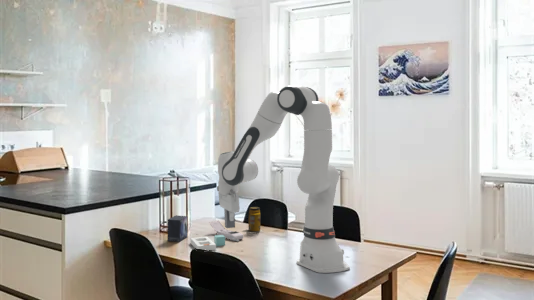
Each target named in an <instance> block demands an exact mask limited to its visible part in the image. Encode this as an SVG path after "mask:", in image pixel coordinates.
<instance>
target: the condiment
mask: <svg viewBox="0 0 534 300" xmlns="http://www.w3.org/2000/svg"><path fill="white" fill-rule="evenodd" d="M260 209H261V208H260V207H258V206H250V207H249V210H248V229H245V230H242V231H243V232H244V233H249V234H255V233H261V232H264V230H262V229H261V210H260Z"/></svg>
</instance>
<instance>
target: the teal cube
mask: <svg viewBox="0 0 534 300" xmlns="http://www.w3.org/2000/svg"><path fill="white" fill-rule="evenodd" d="M213 239H214V241H213V242H214V243H215V244H216V247H221V246H223V247H224V246H226V238H225V236H224V235H217V234H216V235H214V236H213Z"/></svg>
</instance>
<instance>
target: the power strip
mask: <svg viewBox="0 0 534 300" xmlns="http://www.w3.org/2000/svg"><path fill="white" fill-rule="evenodd" d="M190 245H192V247H193V248H194V249H195V248H198V249H206V250H212V251H217V246H216V244H215V243H214V241H213V240H212V239H211V238H210V237H208V236H200V237H190Z"/></svg>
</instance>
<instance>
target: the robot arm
mask: <svg viewBox="0 0 534 300" xmlns="http://www.w3.org/2000/svg"><path fill="white" fill-rule="evenodd" d="M287 114H293V115H296V116H301V118H302V120H303V156H302V161H301V167H300V172H299V174H298V176H297V178H296V179H297V180H296V181H297V182H296V183H297V186H298V188H299V189H300V191H301V192H302V193H305V194H307V195H308V197H307V200H306V201H307V202H306V204H305V205H304V206H305V207H304V226H303V236H304V237H303V239H302V240H301V242H300V247H299V259H297V260H296V264H297V265H299V266H301V267H304V268H307V269H309V270H311V271H313V272H316V273H318V274H319V273H320V274H323V273H324V274H328V273H339V272H344V271H348V270H350V269H351V266H350V265H348V263H347V262H345V260H344V255H345V249H344V248H341V247H340V245H339V243H338V242H337V239H336V234H335V233H336V231H335V230H334V226H333V225H334V224H333V223H334V221H333V217H334V216H333V215H334V214H333V213H334V209H333V208H334V202H335V198H336V197H335V196H336V191H337V190H336V189H337V185H338V182H339V180H340V179H339V178H340V174H339V170H338V169H337V168H336V167H335V166H334V165H332V164H329V163H330V157H331V153H332V151H333V127H332V126H333V125H332V115H331V111H330V107H329V106H328V104H327V103H325V102H322V101H319V95H318V94H317V92H316V91H315V90H314V89H312V88H310V87H308V86H303V85H293V84H291V85H287V86H284V87H282V88H281V89H280V90H279V91H271V92H270V93H268V94H267V96H266V97H265V99H264V100H263V101H262V103H261V105H260V107H259V108H258V111H257V113H256V115H255V117H254V119H253V121H251V124H250V125H249V127H248V129H247V130H246V132H245V133H244V134H243V136H242V138H241V139H240V141H239V143H238V145H237V147H236V149H235V150H234V151H227V152H223V153H220V154H219V155H218V160H217V174H218V183H217V184H218V186H217V187H216V190H217V192H218V204H219V207H220V208H222V209H223V210H224V209H226V210H228V211H229V220H230V221H234V214H235V213H240V198H239V195H238V193H239V192H240V190H239V189H240V186H239V185H240V184H243V183H247V182H251V181H253V180H255V179H256V178H257V177H258V174H259V167H258V164H257V163H256V162H255V161H254V160H252V159H249V158H250V156H251V154H252V153H253V151H254V150H255V149H256V147H258V145H259V144H262V143H263V142H265V141H267V140H270V139H271V138H273V137H274V136H275V135H276V134H277V133H278V131H279V130H280V128H281V126H282V124H283V122H284V119H285V117H286V115H287ZM235 215H236V214H235Z"/></svg>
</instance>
